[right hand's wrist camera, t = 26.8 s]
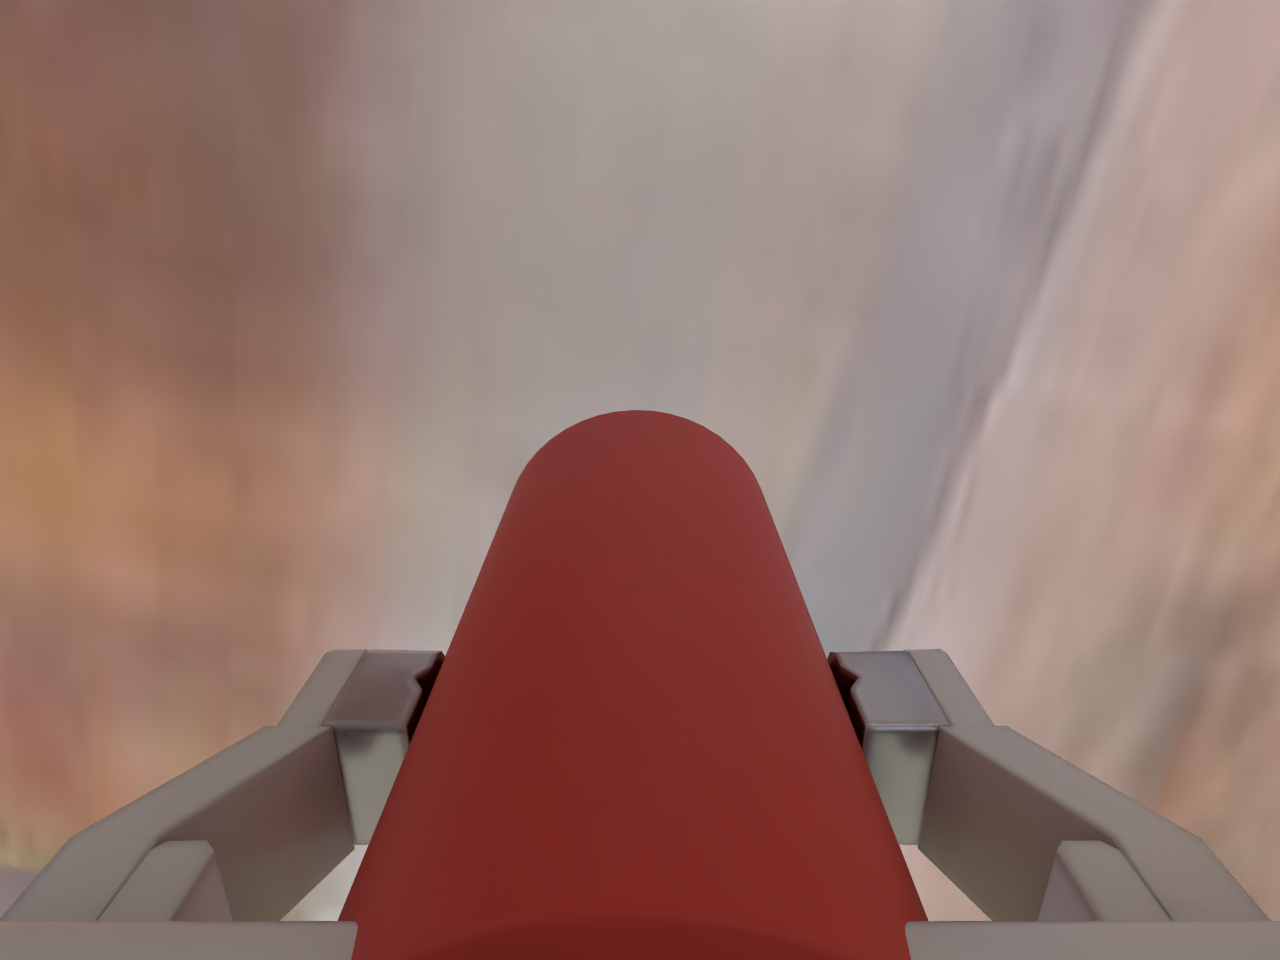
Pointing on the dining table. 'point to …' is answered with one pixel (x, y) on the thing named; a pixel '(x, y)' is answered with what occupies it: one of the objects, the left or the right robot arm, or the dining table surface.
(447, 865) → the cylinder
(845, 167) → the dining table surface
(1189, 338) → the dining table surface
